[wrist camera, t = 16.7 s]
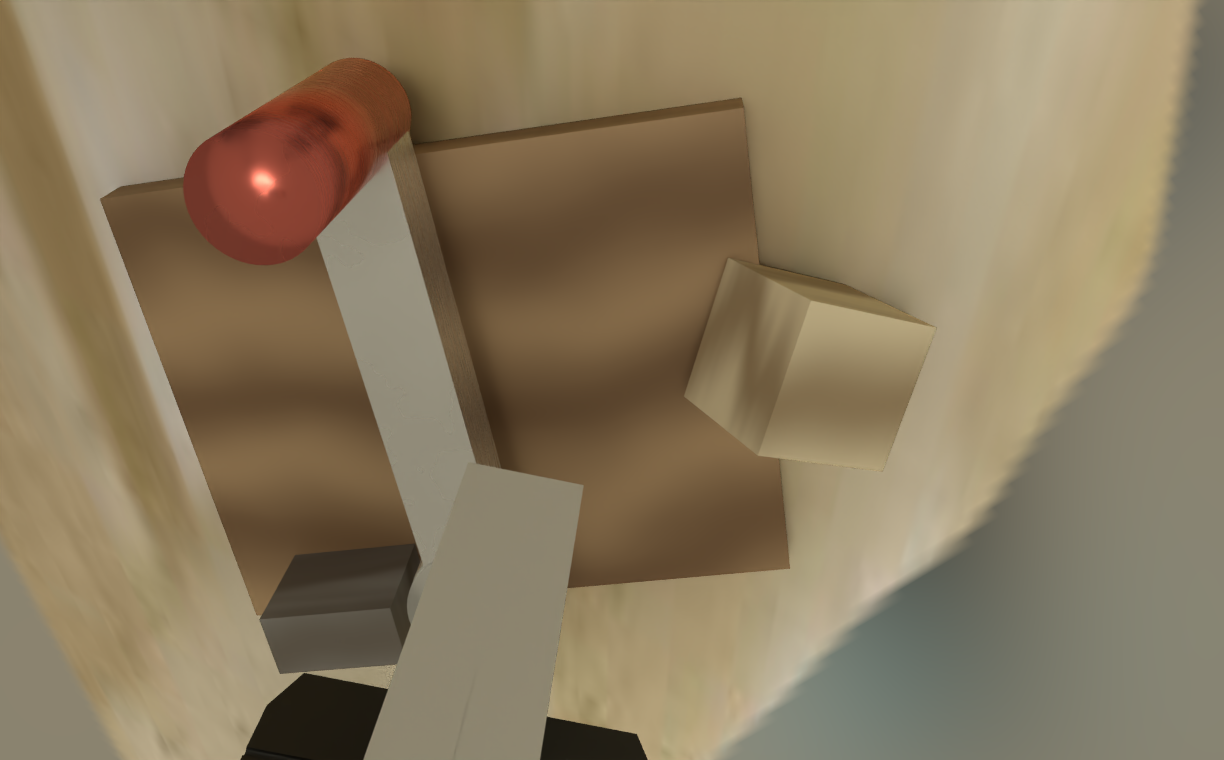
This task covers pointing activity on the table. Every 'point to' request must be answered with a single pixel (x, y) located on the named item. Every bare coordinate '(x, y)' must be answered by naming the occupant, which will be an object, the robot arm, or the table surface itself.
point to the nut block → (806, 367)
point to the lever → (359, 265)
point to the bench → (503, 363)
